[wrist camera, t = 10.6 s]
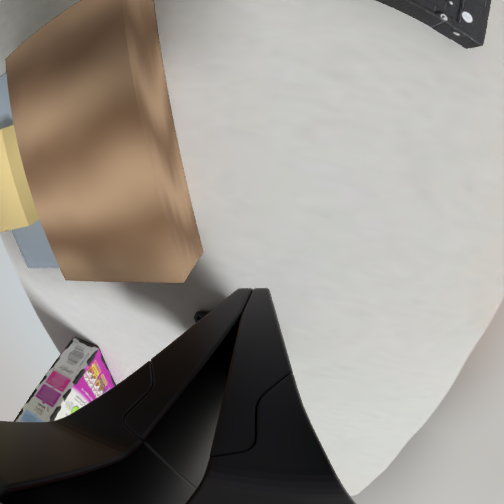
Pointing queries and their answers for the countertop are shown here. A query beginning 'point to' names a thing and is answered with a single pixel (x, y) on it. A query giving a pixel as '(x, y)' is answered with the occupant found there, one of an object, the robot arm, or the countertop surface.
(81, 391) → the candy bar box
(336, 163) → the countertop surface
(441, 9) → the disk drive
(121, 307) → the countertop surface
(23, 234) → the mat
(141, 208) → the deck
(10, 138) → the block
